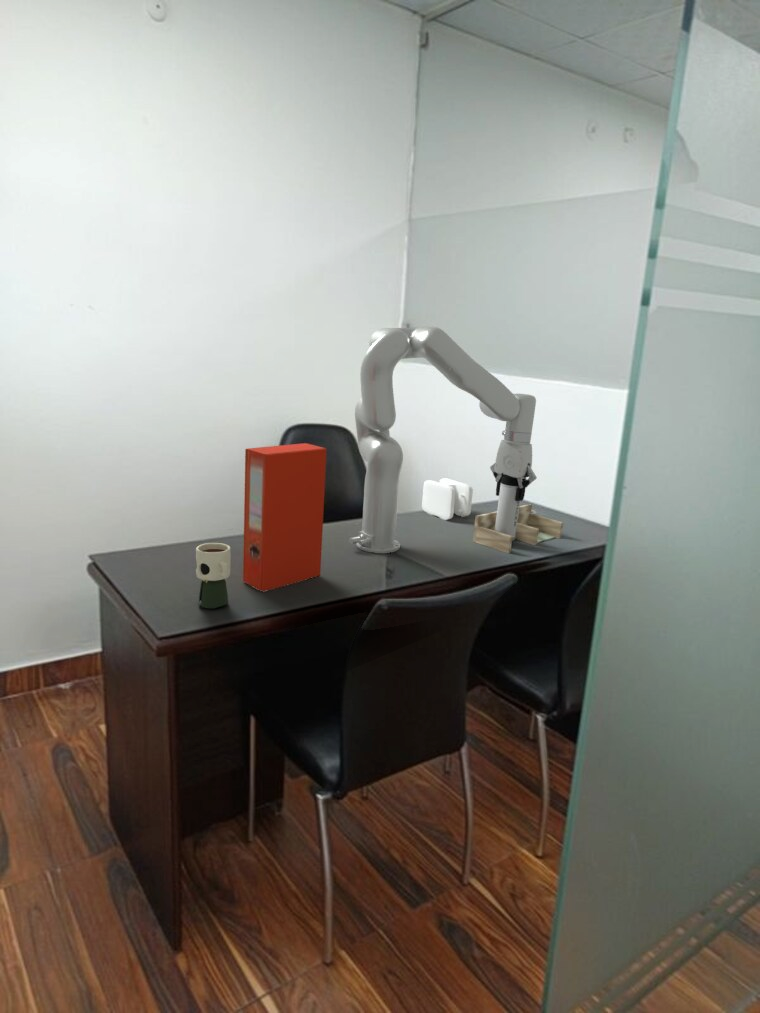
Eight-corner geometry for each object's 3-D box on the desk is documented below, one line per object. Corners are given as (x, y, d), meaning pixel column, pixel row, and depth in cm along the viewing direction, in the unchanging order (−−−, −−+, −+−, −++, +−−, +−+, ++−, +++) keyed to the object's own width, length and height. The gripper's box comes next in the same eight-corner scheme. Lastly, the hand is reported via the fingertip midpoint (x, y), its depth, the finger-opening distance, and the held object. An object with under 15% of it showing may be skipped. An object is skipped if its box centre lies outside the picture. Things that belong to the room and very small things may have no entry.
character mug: (186, 600, 145) (185, 543, 142) (216, 593, 150) (216, 538, 147) (209, 617, 137) (209, 558, 134) (240, 610, 142) (241, 552, 139)
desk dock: (508, 553, 191) (511, 526, 189) (472, 541, 200) (475, 515, 198) (561, 537, 210) (564, 513, 208) (526, 527, 219) (529, 503, 217)
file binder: (321, 576, 164) (326, 448, 156) (263, 593, 152) (266, 454, 144) (300, 567, 169) (304, 442, 161) (243, 582, 157) (244, 448, 149)
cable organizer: (419, 511, 231) (421, 478, 228) (441, 508, 237) (444, 476, 235) (449, 522, 220) (452, 488, 217) (471, 518, 226) (475, 485, 223)
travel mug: (490, 534, 202) (498, 470, 197) (511, 535, 203) (520, 471, 198) (495, 541, 196) (504, 474, 191) (517, 542, 197) (526, 475, 192)
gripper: (485, 433, 196) (478, 492, 200) (535, 443, 184) (526, 506, 188) (501, 432, 201) (493, 490, 205) (550, 441, 189) (541, 503, 193)
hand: (509, 497), depth 197 cm, fingers closed on travel mug, 6 cm apart
